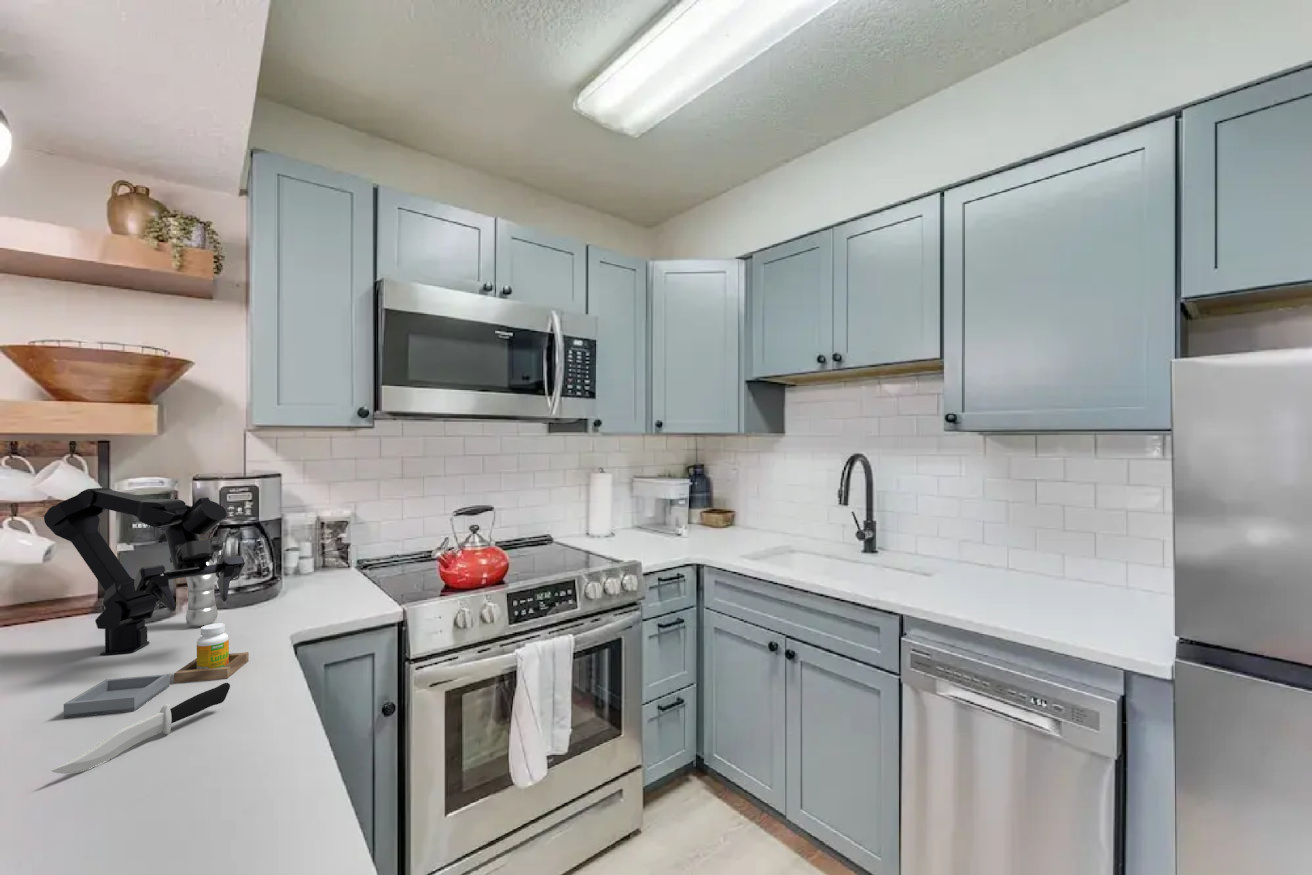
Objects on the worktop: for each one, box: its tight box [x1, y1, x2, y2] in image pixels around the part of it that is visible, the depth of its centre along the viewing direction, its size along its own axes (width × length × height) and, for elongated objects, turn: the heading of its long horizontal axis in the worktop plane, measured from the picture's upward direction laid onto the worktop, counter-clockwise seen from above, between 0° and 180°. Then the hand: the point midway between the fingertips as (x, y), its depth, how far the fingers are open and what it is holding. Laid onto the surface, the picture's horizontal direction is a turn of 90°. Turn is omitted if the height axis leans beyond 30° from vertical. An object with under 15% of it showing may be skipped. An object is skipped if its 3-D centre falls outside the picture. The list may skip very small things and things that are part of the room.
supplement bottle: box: [196, 622, 230, 669], centre depth 121 cm, size 5×5×10 cm
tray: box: [63, 673, 171, 719], centre depth 107 cm, size 11×11×2 cm
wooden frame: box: [173, 651, 250, 684], centre depth 121 cm, size 9×9×2 cm
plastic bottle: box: [185, 558, 219, 627], centre depth 152 cm, size 6×7×20 cm
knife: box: [50, 682, 231, 775], centre depth 93 cm, size 25×2×5 cm, turn 163°
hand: (200, 604), depth 125 cm, fingers open, 9 cm apart
